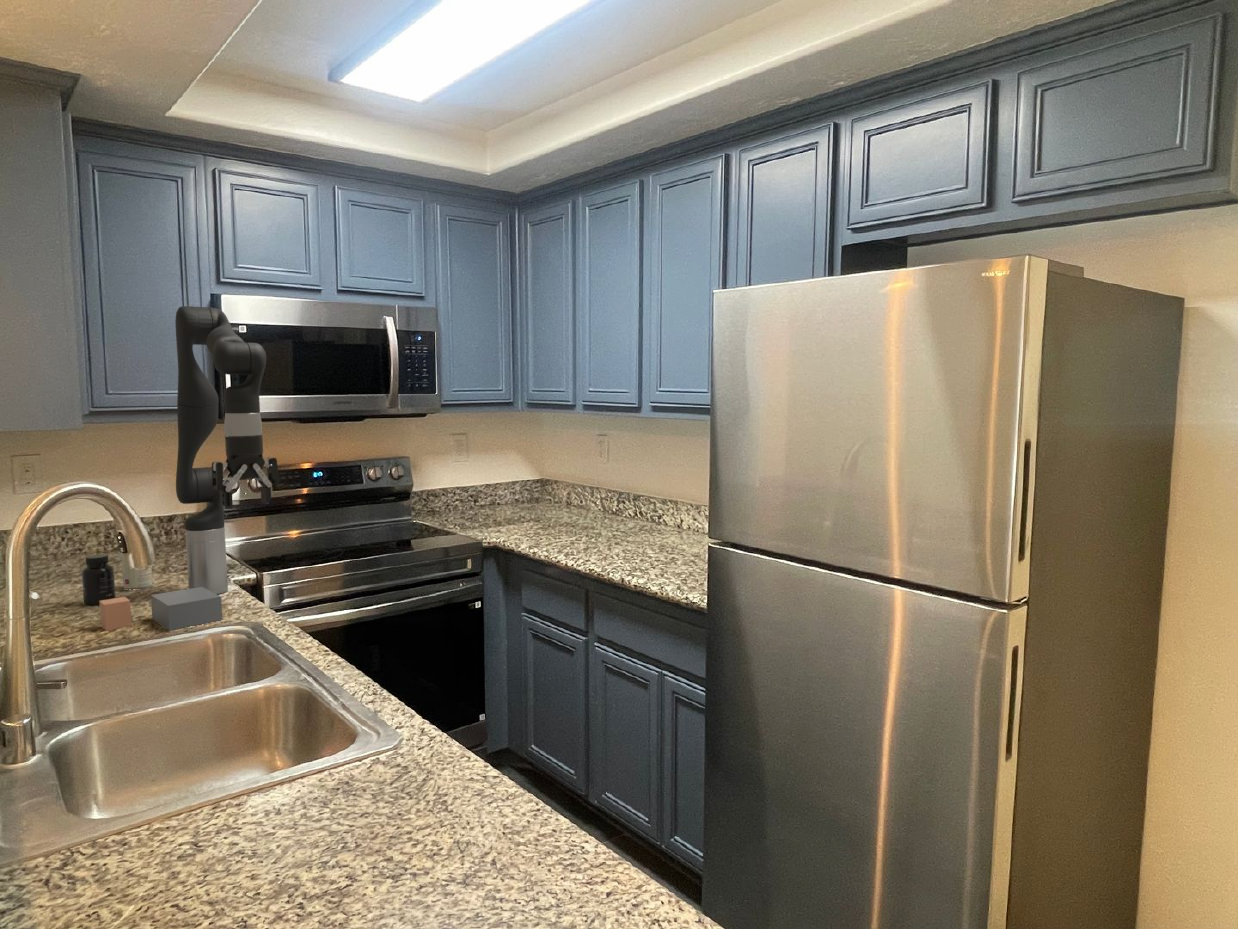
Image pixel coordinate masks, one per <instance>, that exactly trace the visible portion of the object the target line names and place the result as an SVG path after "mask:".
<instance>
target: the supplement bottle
mask: <svg viewBox="0 0 1238 929" xmlns="http://www.w3.org/2000/svg"><path fill="white" fill-rule="evenodd" d="M109 562H110V560H109V555H108V554H93V555H92V554H91V555H89V556H86V557H85V566H86V567H84V568H83V569H82V571H81V584H82V598H83V604H84V605H85V606H89V607H90V606H91V607H92V606H94V607H95V606H97V607H98V606H100V603H99V601H101V600H108V599H114V598H116V586H115V571H114V569H115V568H114V567H113V566H111V565H110V564H109Z"/></svg>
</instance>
